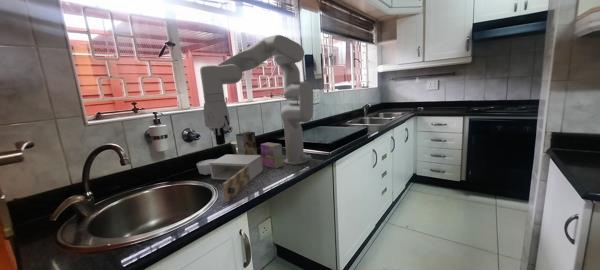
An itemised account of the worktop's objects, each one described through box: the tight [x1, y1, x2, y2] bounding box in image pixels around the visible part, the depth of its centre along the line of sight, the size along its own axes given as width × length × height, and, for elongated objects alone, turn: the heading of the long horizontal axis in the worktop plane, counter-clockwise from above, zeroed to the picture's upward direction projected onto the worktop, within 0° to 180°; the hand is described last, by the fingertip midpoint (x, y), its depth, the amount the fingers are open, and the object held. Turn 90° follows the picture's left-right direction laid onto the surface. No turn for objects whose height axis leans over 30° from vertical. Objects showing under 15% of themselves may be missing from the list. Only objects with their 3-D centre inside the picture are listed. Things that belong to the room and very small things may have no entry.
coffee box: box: [235, 131, 258, 155], centre depth 146 cm, size 9×6×16 cm
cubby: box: [210, 153, 264, 181], centre depth 123 cm, size 20×14×8 cm
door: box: [222, 166, 251, 203], centre depth 103 cm, size 20×3×7 cm, turn 167°
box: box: [260, 141, 284, 169], centre depth 133 cm, size 10×6×12 cm, turn 47°
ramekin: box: [196, 158, 217, 176], centre depth 131 cm, size 11×11×5 cm
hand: (221, 144), depth 102 cm, fingers closed
